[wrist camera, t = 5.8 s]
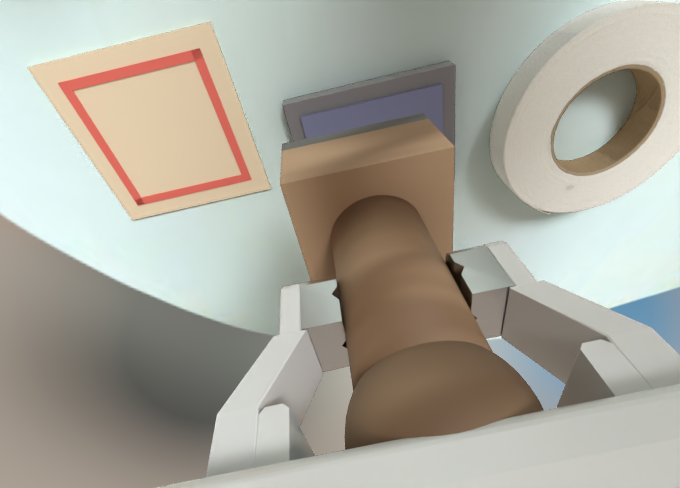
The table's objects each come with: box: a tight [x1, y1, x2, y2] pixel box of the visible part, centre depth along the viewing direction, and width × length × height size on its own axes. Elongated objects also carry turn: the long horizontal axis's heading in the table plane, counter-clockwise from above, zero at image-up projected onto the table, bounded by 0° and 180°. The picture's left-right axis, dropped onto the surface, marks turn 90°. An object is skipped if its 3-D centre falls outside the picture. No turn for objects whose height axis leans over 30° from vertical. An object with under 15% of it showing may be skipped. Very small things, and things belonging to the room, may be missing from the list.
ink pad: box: [283, 61, 455, 173], centre depth 27 cm, size 12×9×2 cm
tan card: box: [27, 22, 271, 220], centre depth 26 cm, size 12×12×1 cm
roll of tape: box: [489, 0, 680, 215], centre depth 28 cm, size 16×15×3 cm
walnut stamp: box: [280, 113, 544, 450], centre depth 9 cm, size 5×5×11 cm
